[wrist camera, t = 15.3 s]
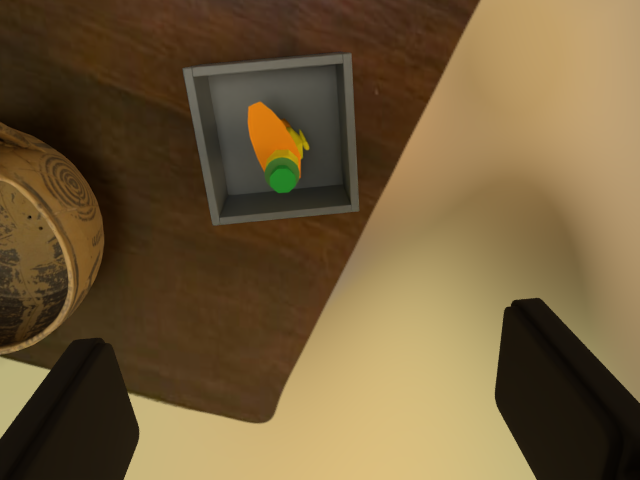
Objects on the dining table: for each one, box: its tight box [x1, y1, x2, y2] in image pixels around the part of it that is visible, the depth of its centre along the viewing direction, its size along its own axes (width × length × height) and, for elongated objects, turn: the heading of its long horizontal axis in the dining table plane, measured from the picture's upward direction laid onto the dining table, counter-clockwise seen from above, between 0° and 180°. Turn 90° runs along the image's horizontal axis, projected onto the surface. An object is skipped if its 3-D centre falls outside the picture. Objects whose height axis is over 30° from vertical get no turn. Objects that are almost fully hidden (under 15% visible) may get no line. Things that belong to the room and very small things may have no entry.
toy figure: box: [248, 102, 309, 193], centre depth 31 cm, size 7×4×12 cm, turn 23°
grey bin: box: [183, 52, 359, 225], centre depth 34 cm, size 11×11×6 cm
